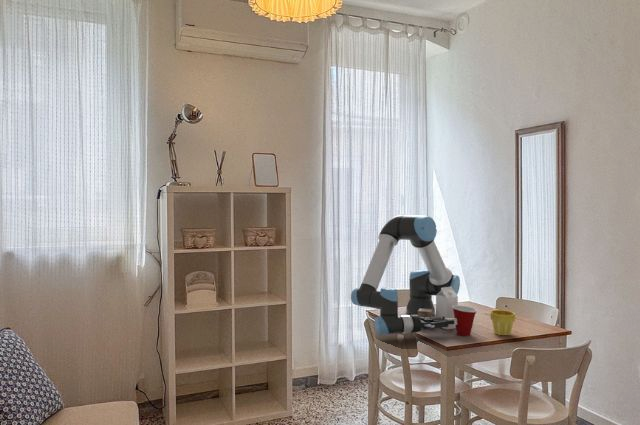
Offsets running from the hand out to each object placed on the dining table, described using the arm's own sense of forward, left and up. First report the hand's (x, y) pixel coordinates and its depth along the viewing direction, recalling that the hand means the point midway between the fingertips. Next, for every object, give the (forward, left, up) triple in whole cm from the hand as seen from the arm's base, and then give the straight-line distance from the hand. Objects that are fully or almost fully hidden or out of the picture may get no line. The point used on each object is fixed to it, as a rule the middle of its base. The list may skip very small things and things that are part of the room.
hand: (459, 321), depth 208 cm
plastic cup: (+1, +2, -6) cm, 7 cm away
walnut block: (-18, +2, -6) cm, 19 cm away
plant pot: (+14, +14, -6) cm, 21 cm away
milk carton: (-10, +8, -6) cm, 14 cm away
